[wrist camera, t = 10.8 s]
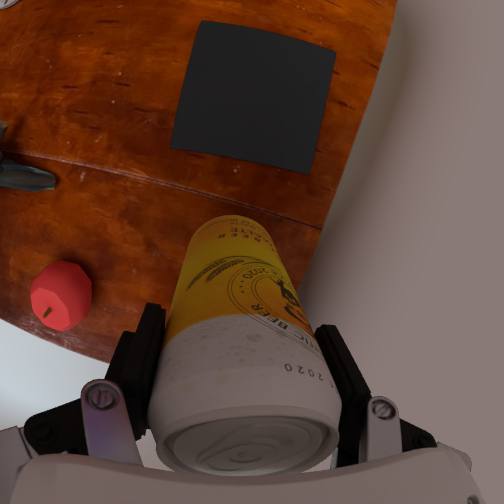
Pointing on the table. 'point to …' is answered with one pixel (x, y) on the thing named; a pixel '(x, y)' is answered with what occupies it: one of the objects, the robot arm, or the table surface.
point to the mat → (253, 96)
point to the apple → (61, 295)
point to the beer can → (240, 364)
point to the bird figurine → (22, 172)
